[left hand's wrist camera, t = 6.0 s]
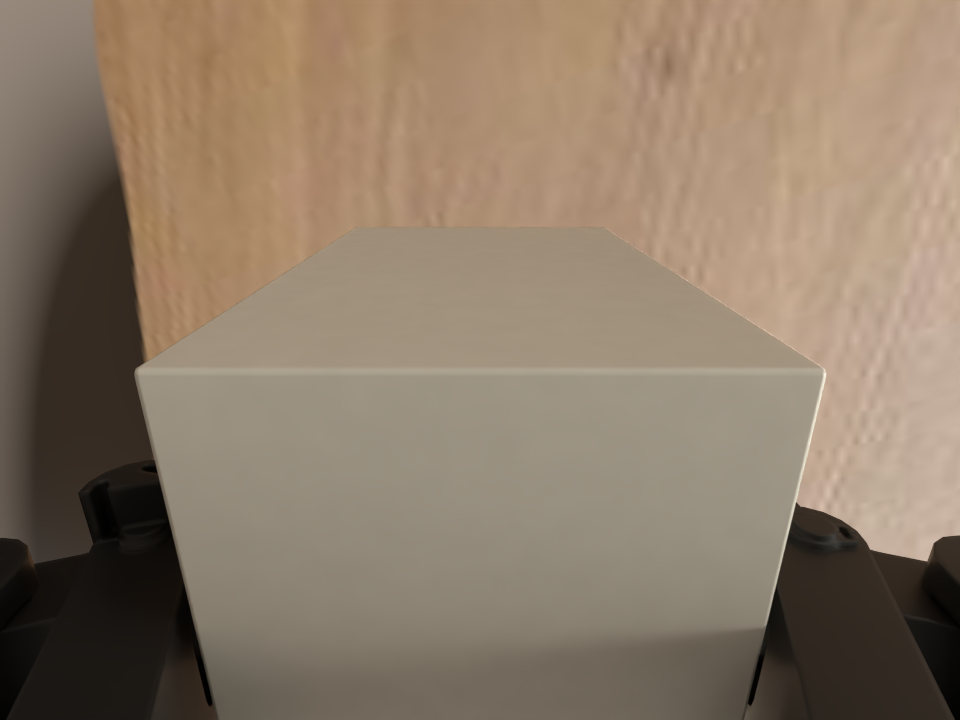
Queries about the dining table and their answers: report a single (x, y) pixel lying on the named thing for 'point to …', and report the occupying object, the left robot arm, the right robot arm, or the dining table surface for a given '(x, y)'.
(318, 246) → the dining table surface
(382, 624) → the box
